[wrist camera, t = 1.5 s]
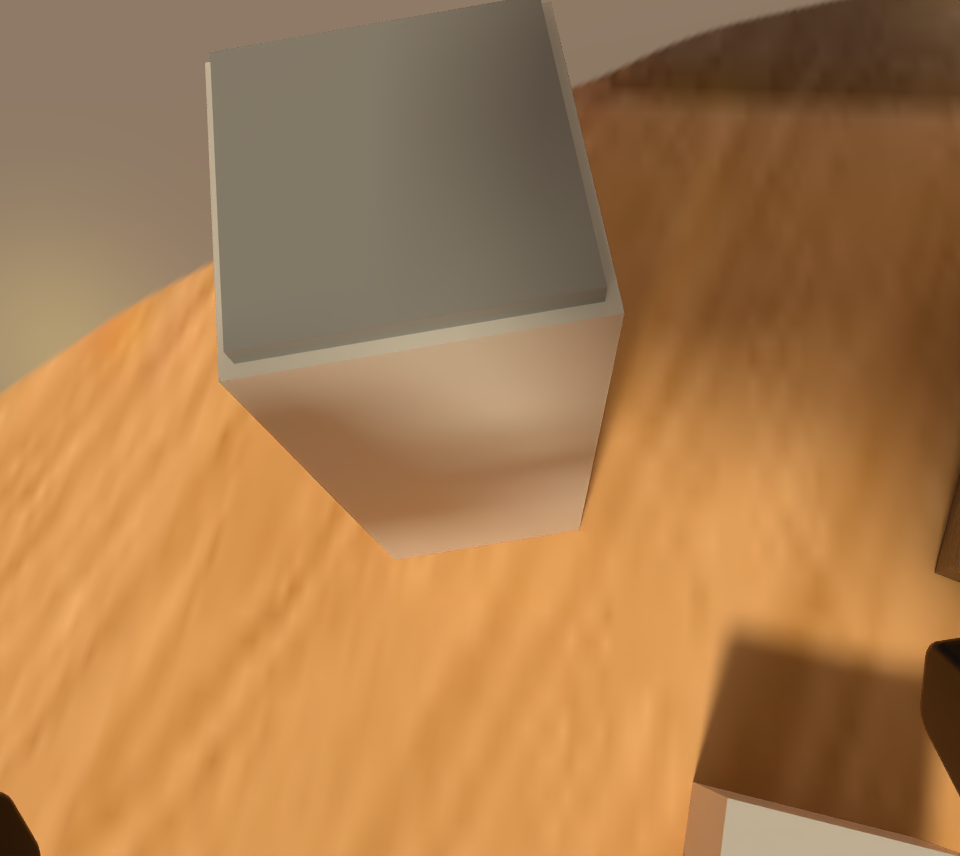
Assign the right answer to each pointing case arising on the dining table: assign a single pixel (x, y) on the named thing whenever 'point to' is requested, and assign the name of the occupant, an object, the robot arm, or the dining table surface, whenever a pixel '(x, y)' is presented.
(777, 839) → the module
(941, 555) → the grey dock tray
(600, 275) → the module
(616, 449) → the dining table surface
